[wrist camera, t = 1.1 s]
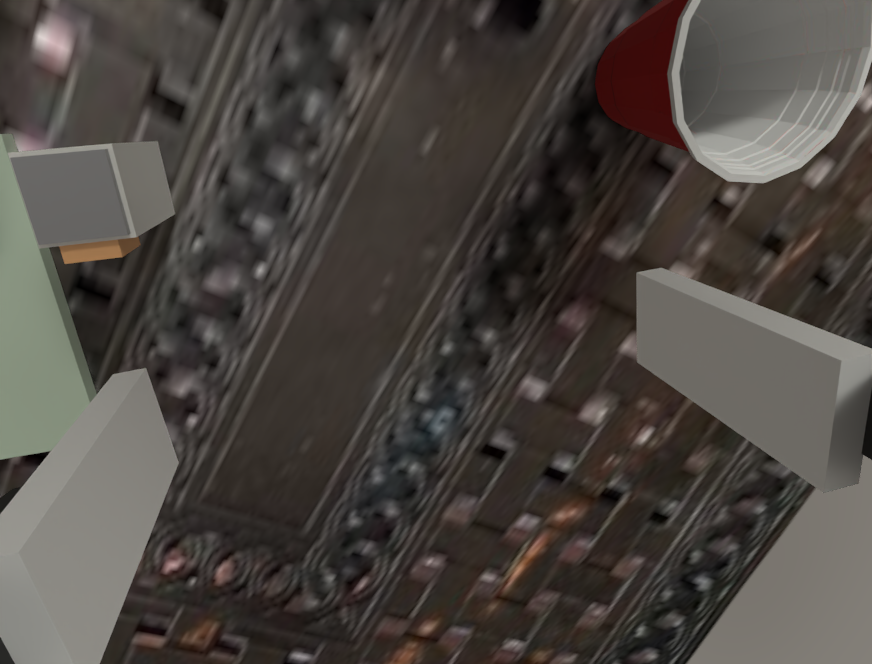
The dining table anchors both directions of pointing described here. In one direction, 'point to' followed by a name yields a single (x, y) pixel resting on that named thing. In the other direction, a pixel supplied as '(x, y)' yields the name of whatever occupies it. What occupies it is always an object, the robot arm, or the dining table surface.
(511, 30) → the dining table surface
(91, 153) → the plug
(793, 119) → the plastic cup
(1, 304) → the board
